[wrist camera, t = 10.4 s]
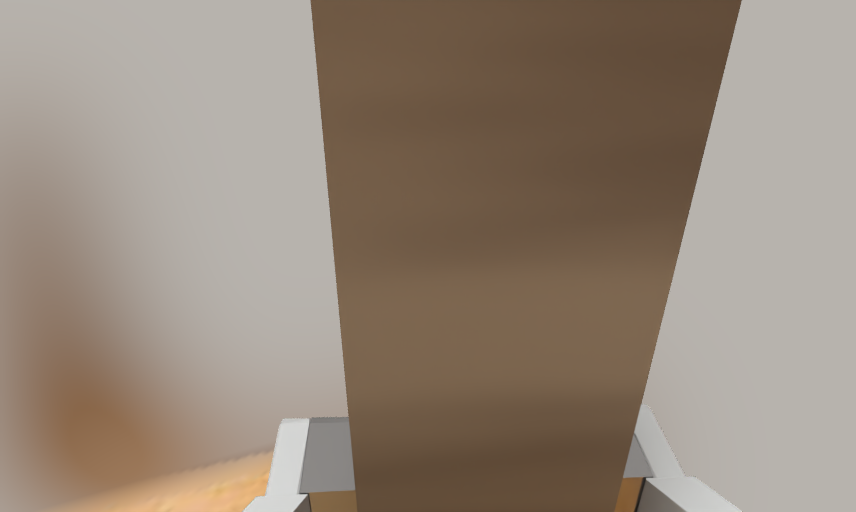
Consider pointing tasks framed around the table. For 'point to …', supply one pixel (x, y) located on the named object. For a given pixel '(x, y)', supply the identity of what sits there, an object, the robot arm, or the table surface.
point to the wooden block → (507, 234)
